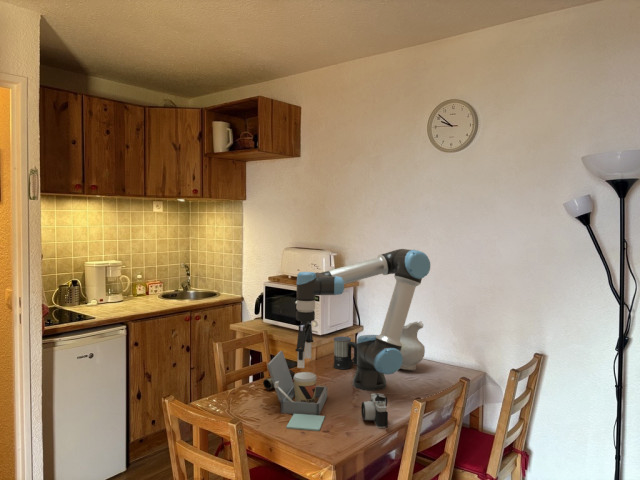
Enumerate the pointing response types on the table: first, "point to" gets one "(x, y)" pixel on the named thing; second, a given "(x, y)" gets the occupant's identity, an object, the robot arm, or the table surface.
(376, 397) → the camera
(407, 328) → the ceramic pitcher
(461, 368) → the table surface
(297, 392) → the coffee cup
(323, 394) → the equipment case
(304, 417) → the mat
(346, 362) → the milk frother
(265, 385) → the metal pipe
